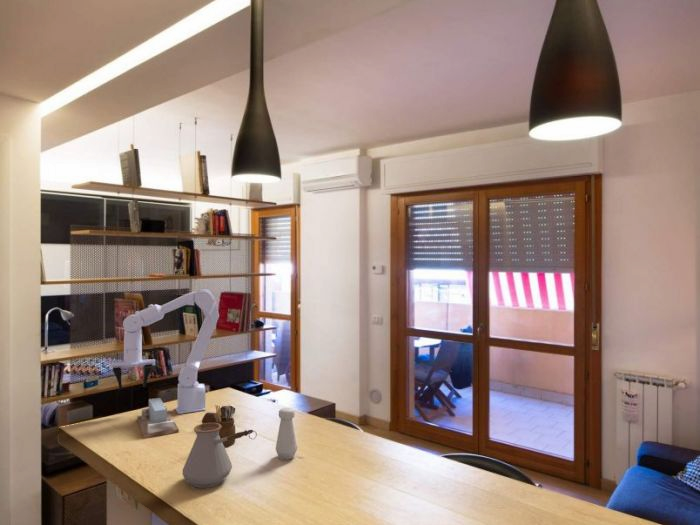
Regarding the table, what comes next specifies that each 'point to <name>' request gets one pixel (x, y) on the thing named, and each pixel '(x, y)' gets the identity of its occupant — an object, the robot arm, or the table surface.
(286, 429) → the salt shaker
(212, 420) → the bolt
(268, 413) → the table surface
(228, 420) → the utensil holder
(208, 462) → the coffee pot
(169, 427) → the frame
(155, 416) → the slat
